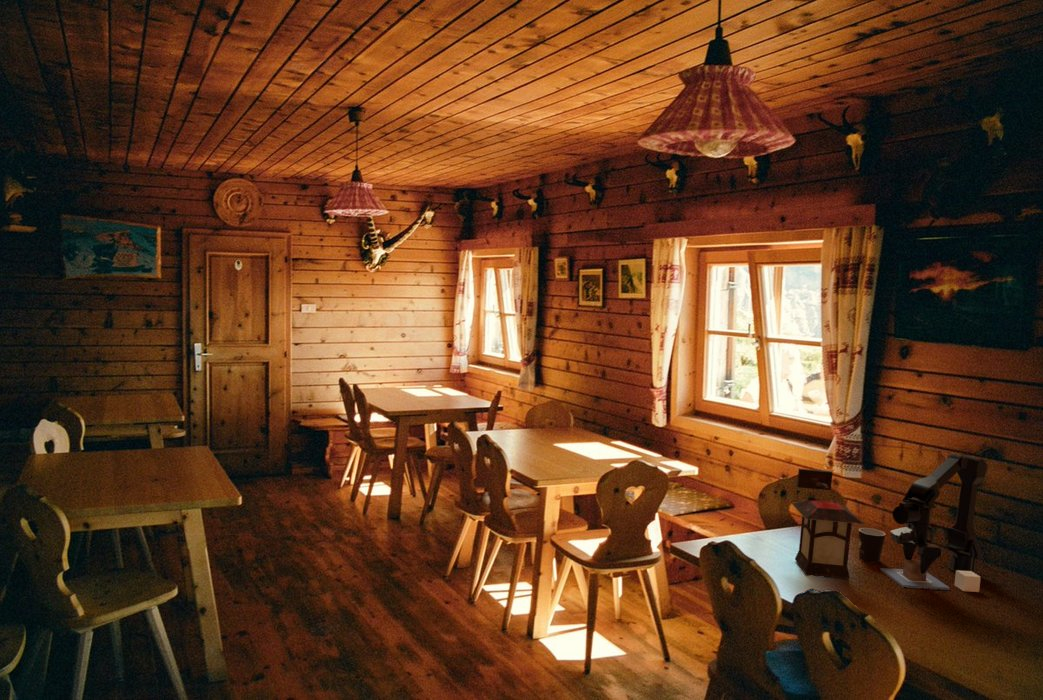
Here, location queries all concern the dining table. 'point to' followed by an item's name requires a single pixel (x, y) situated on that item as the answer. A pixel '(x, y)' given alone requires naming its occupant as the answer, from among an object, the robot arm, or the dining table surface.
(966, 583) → the cream block
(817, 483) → the lantern
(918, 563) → the walnut block
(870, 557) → the coffee mug
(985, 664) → the dining table surface
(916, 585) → the board
